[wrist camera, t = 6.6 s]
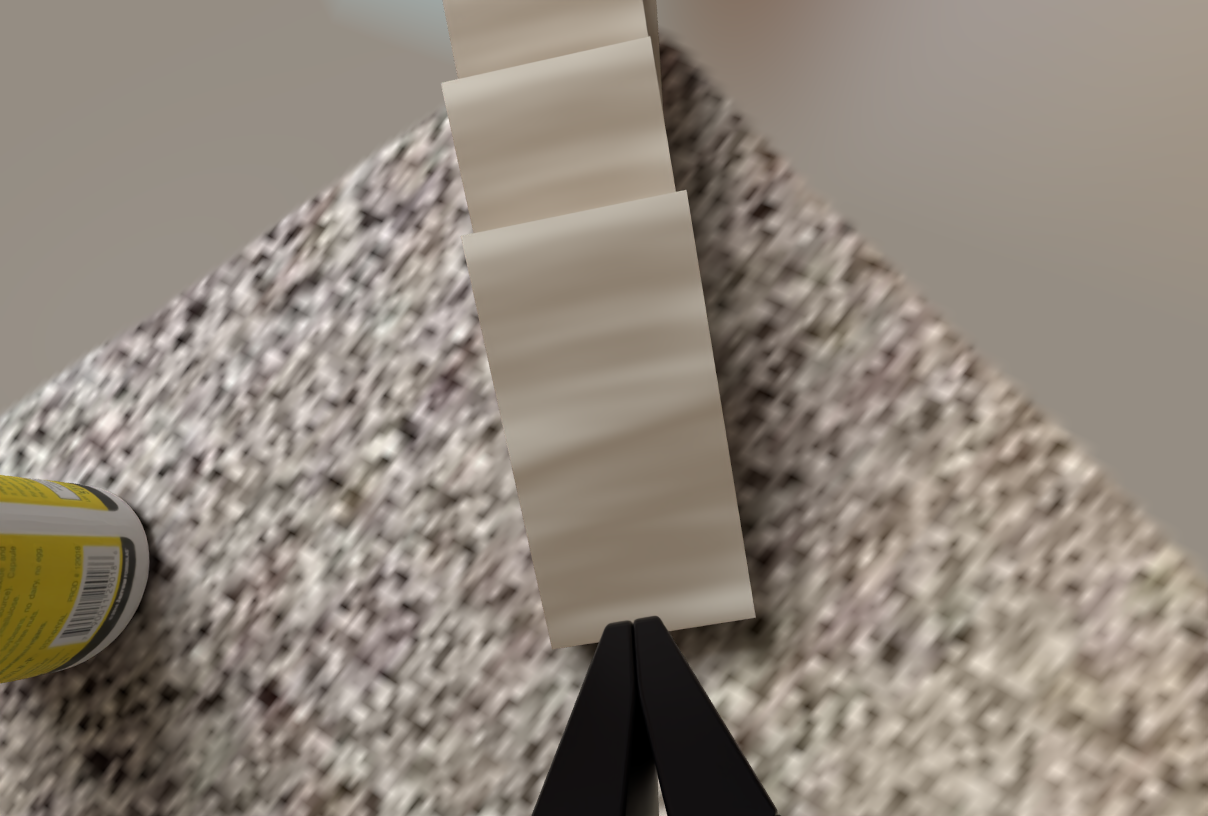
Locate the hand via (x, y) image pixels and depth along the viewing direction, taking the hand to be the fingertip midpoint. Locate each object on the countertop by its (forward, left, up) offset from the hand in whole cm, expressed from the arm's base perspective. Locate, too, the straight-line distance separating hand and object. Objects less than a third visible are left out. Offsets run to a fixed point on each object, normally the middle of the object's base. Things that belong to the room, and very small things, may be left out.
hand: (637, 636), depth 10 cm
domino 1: (0, 0, -6) cm, 6 cm away
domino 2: (+3, -2, -6) cm, 7 cm away
